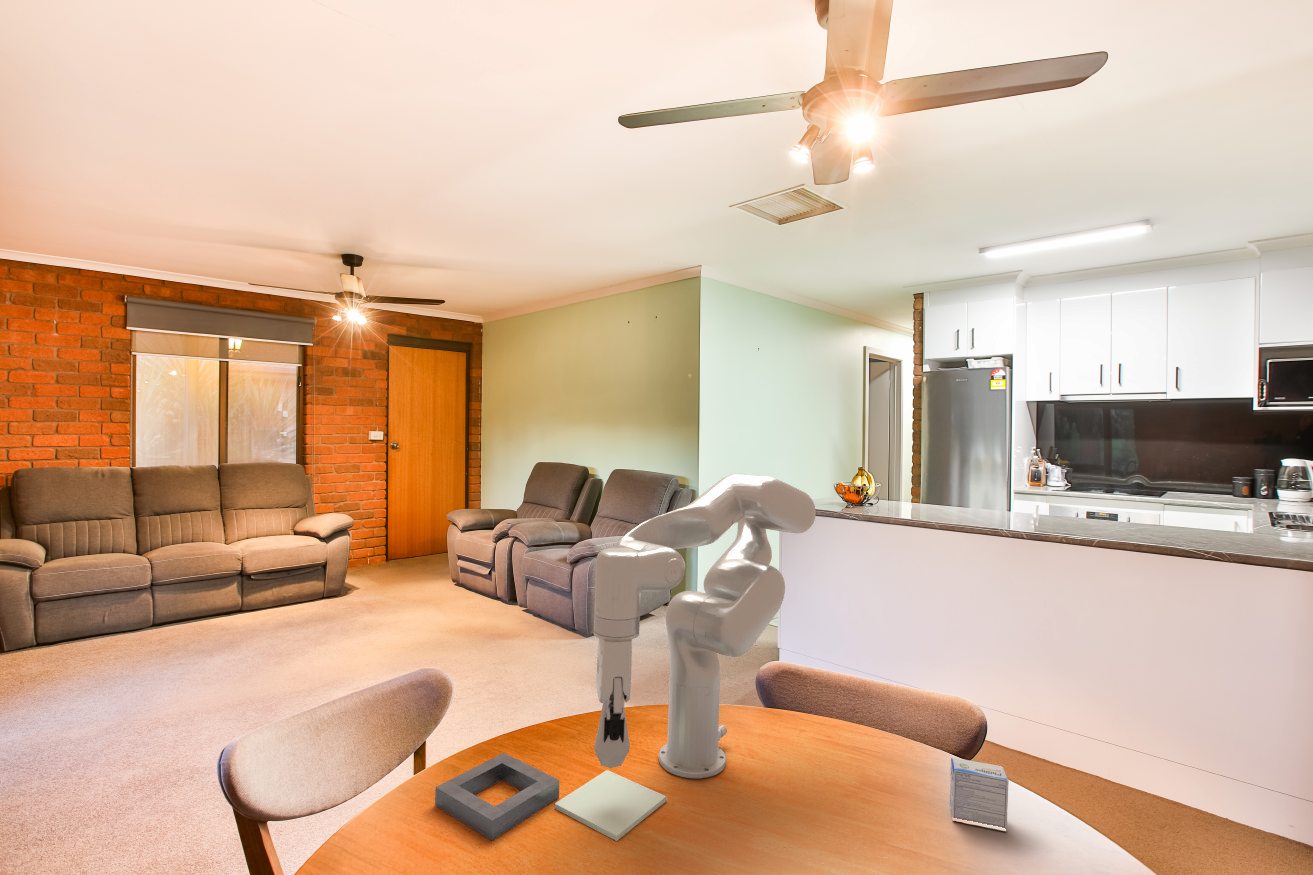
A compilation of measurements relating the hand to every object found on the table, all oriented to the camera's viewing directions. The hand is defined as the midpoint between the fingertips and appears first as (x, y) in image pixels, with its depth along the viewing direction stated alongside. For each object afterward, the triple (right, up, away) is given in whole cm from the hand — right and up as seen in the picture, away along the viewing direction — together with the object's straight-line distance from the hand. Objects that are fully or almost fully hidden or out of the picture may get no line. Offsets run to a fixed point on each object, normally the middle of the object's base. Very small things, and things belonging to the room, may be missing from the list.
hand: (612, 735), depth 102 cm
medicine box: (+59, -14, -1) cm, 61 cm away
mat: (0, -11, 0) cm, 11 cm away
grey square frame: (-19, -11, 0) cm, 22 cm away
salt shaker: (0, -4, 0) cm, 4 cm away
